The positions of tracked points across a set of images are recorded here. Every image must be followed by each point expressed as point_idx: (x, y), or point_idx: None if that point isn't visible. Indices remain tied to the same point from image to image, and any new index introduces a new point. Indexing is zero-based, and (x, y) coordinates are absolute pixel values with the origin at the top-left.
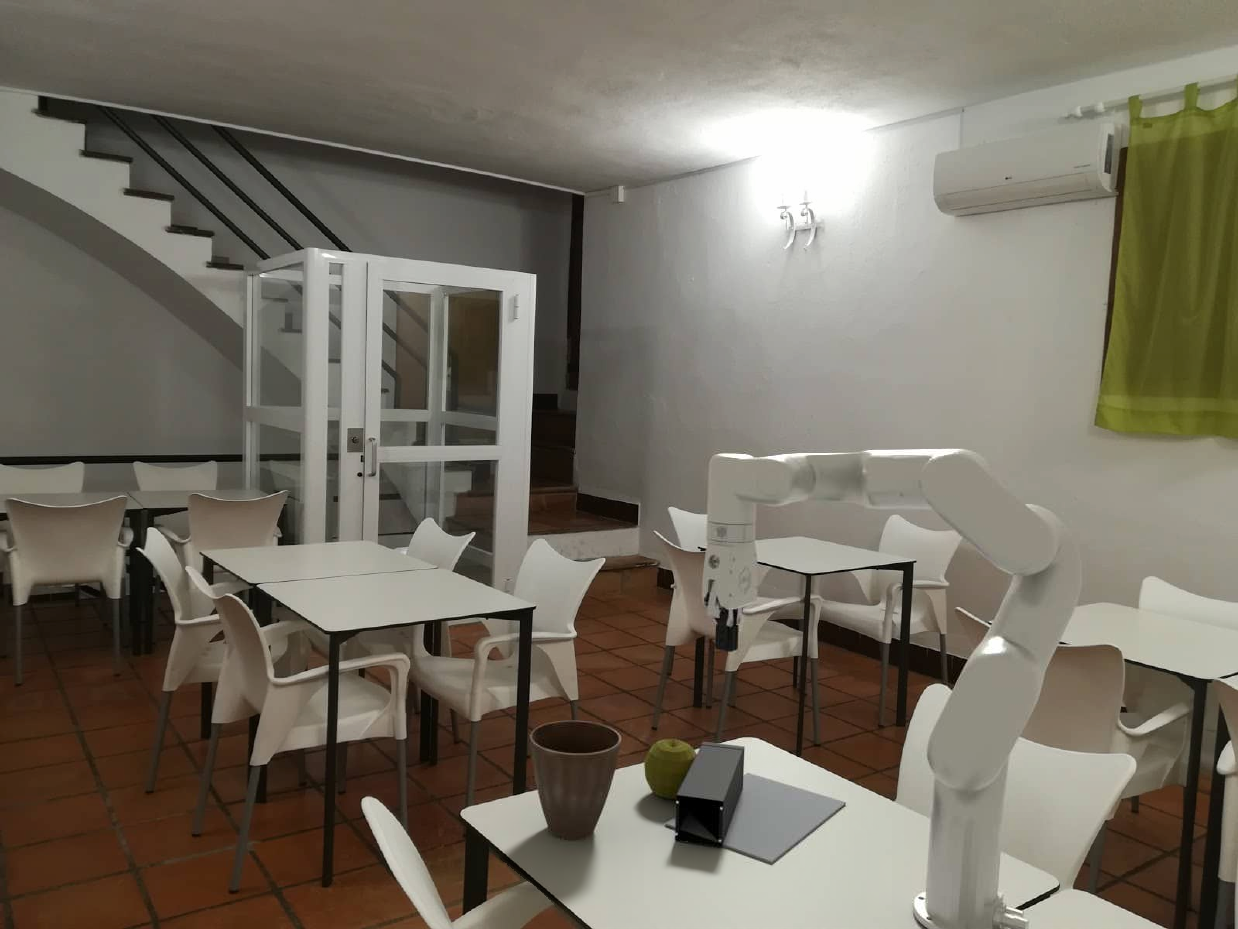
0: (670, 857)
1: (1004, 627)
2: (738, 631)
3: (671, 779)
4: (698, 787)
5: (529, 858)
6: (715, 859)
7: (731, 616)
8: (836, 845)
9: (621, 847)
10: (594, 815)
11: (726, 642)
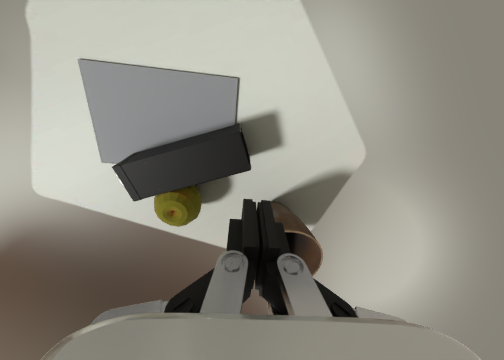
0: (271, 148)
1: None
2: (243, 230)
3: (197, 193)
4: (226, 161)
5: (317, 213)
6: (256, 120)
7: (297, 290)
8: (167, 37)
9: (276, 180)
10: (281, 206)
11: (283, 226)
